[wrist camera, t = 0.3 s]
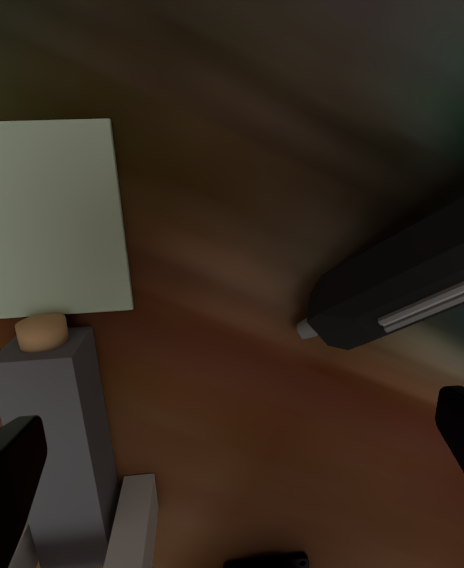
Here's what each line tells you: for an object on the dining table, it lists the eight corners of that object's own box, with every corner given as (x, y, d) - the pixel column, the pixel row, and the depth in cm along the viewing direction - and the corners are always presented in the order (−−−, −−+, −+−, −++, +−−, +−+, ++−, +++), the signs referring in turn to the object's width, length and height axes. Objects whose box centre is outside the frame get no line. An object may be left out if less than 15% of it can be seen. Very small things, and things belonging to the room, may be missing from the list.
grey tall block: (123, 507, 26) (111, 565, 23) (64, 513, 26) (42, 573, 22) (90, 305, 22) (67, 334, 18) (18, 309, 21) (-20, 341, 18)
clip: (158, 507, 26) (143, 646, 19) (24, 522, 26) (-48, 673, 18) (154, 473, 25) (136, 605, 18) (15, 487, 25) (-65, 631, 17)
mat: (134, 307, 22) (132, 309, 21) (-30, 318, 21) (-34, 320, 21) (111, 119, 19) (109, 118, 18) (-82, 124, 18) (-87, 123, 18)
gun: (301, 251, 28) (279, 346, 20) (562, 88, 19) (714, 144, 11) (324, 278, 28) (312, 379, 21) (585, 134, 19) (741, 217, 12)
